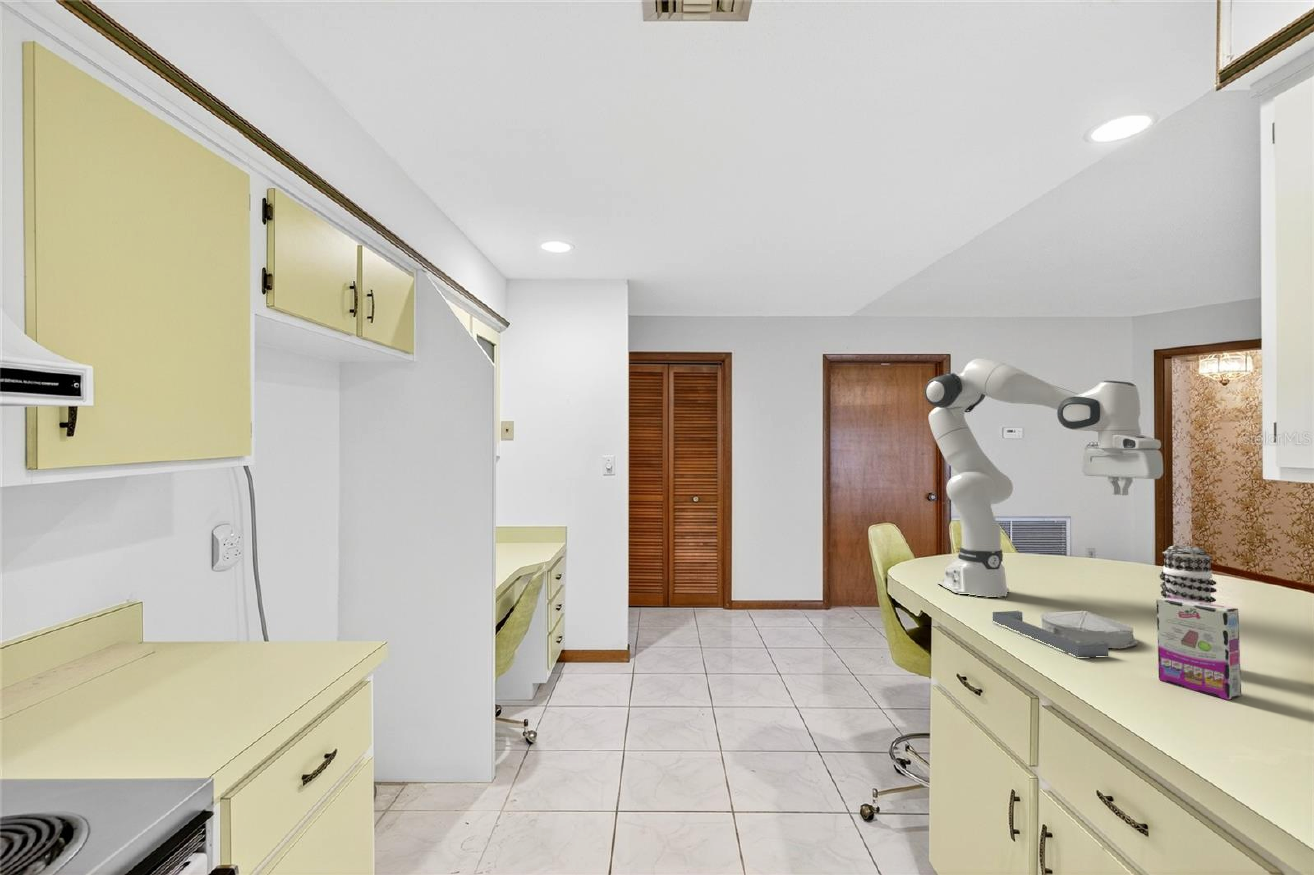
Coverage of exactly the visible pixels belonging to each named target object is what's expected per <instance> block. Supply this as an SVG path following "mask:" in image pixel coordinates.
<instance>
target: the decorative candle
mask: <svg viewBox="0 0 1314 875" xmlns="http://www.w3.org/2000/svg"><path fill="white" fill-rule="evenodd" d="M1161 553H1162V554H1163V558H1164V559H1163V560H1164V564H1163V566H1162V567H1163V570H1162V571H1160V572H1161V573H1160V574H1159V579H1160V580H1161V581H1162V582H1161V583H1160V585H1159V586H1160V587H1161V589H1162V590H1161V591H1160V595H1161V596H1162V597H1163V598H1164V597H1174V598H1180V599H1186V600H1192V601H1197V602H1203V603H1209V604H1212V603H1214V602H1216V601H1217V599H1216V598H1215V597H1213V596H1212V594H1214V593H1217V589H1216V588H1214V587H1213V586H1215V585H1217V581H1216V580H1214V579H1213V570H1212V569H1211V568H1212V566H1211V564H1212V563H1211V561H1212V560H1211V558H1213V556H1212V555H1209V553H1208V552H1207V551H1206V550H1205V549H1204V548H1203V547H1202V548H1201V547H1199V546H1198V547H1197V546H1191V545H1171V546H1169V547H1167V549H1166V550H1165V551H1162V552H1161Z"/></svg>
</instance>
